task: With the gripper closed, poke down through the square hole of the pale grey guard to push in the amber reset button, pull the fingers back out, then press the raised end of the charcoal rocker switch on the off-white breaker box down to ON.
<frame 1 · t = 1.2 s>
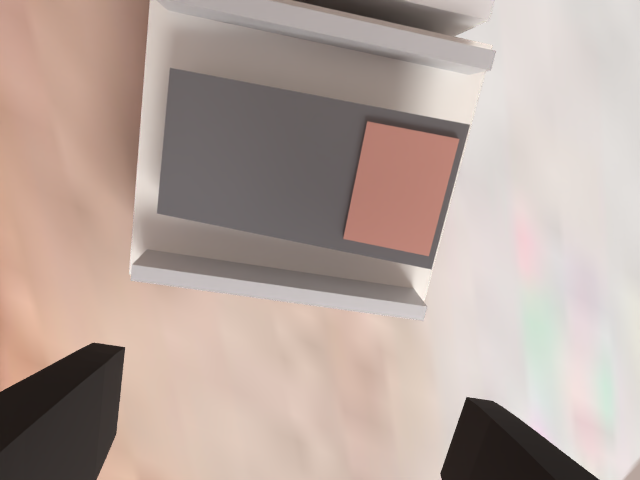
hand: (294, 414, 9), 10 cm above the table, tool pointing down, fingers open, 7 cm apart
rocker switch: (305, 170, 12), point 5 cm above the table, hinge at -10.0°
breaker box: (299, 154, 17), on the table
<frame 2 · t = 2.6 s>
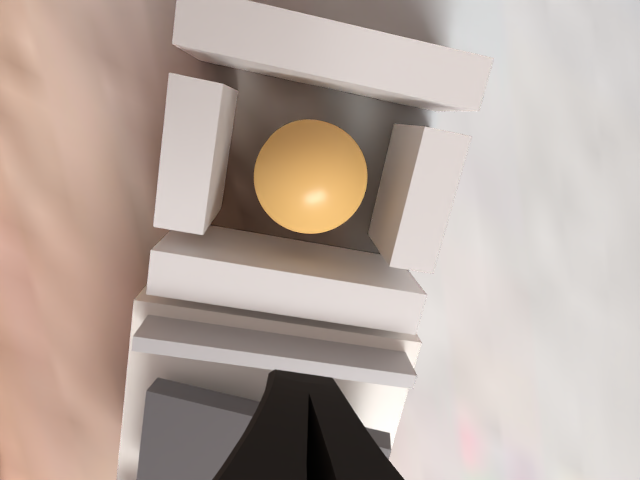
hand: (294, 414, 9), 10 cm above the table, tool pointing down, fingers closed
rocker switch: (259, 464, 15), point 5 cm above the table, hinge at -10.0°
reset button: (309, 174, 15), point 2 cm above the table, slide at 0.0 cm
button guard: (306, 166, 17), on the table
breaker box: (266, 377, 20), on the table
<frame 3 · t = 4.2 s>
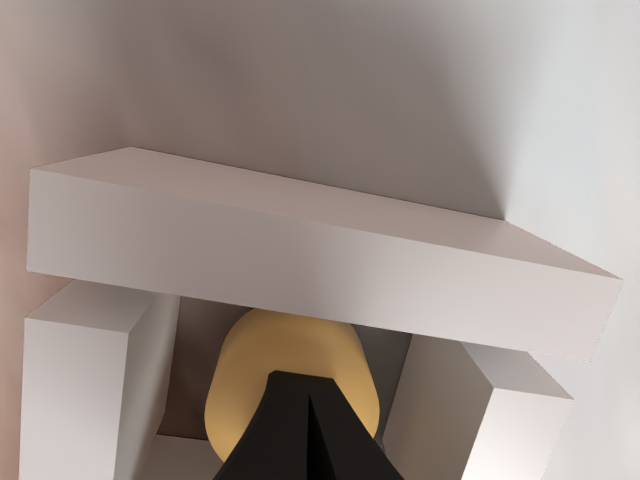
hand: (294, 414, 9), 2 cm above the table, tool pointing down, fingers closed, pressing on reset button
reset button: (292, 388, 10), point 2 cm above the table, slide at 0.9 cm, touching gripper
button guard: (292, 354, 12), on the table
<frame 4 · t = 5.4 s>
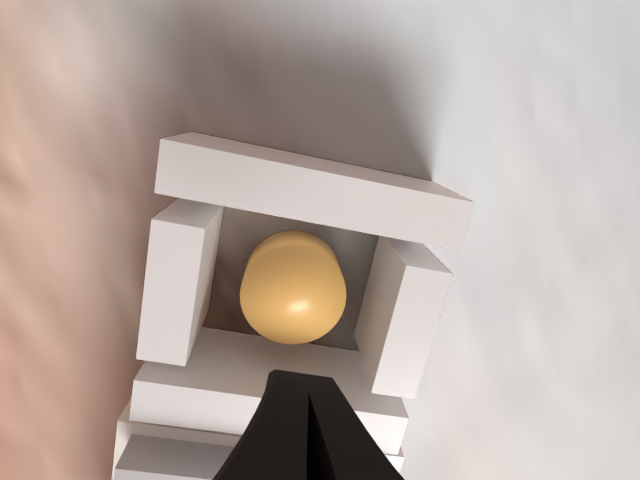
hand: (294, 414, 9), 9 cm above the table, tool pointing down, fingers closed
reset button: (293, 285, 16), point 1 cm above the table, slide at 0.9 cm
button guard: (293, 271, 17), on the table
breaker box: (253, 467, 20), on the table
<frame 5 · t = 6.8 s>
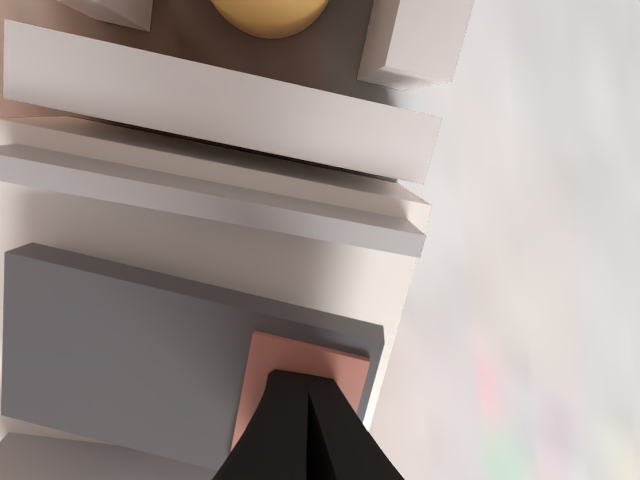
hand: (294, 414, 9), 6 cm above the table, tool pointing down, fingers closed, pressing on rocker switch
rocker switch: (184, 373, 10), point 5 cm above the table, hinge at -10.0°, touching gripper
breaker box: (219, 286, 15), on the table
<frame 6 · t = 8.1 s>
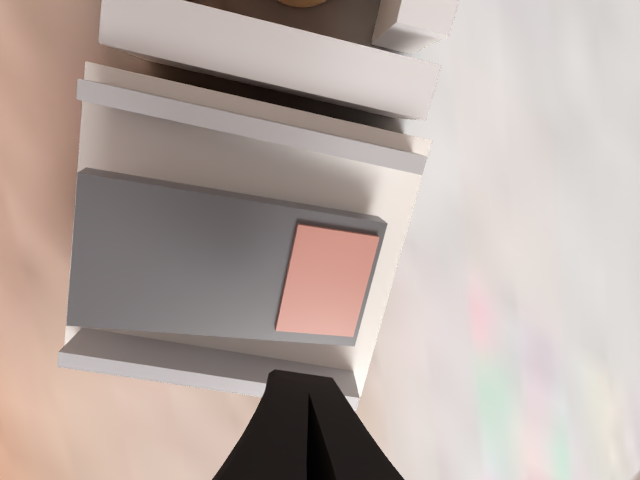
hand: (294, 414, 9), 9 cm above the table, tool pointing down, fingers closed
rocker switch: (234, 267, 12), point 5 cm above the table, hinge at 10.4°
breaker box: (250, 223, 17), on the table
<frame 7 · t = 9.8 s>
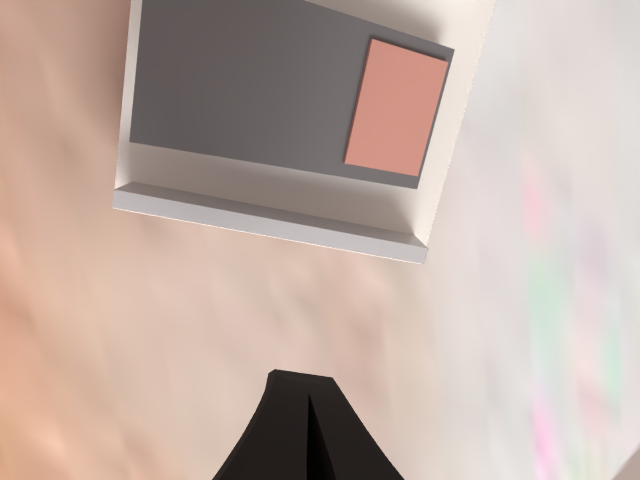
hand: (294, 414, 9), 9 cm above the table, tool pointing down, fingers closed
rocker switch: (303, 91, 12), point 5 cm above the table, hinge at 16.6°, touching breaker box
breaker box: (298, 97, 16), on the table
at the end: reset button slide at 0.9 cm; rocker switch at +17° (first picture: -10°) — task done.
